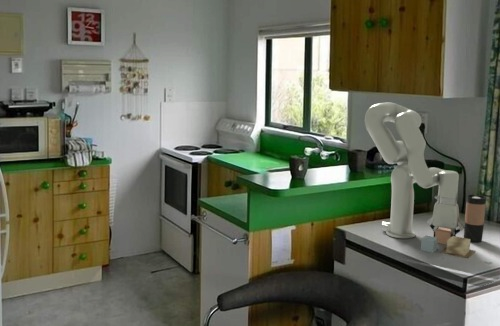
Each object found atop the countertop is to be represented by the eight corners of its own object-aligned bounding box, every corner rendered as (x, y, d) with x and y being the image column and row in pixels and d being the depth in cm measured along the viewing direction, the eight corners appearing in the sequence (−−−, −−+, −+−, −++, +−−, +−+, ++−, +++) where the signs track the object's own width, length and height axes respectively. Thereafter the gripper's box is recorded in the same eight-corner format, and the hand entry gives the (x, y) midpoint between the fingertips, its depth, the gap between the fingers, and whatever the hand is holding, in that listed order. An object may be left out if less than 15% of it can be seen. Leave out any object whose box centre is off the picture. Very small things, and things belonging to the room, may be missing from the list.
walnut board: (439, 254, 229) (439, 252, 229) (448, 247, 238) (448, 245, 237) (467, 260, 223) (467, 258, 222) (475, 253, 231) (475, 250, 231)
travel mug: (472, 246, 240) (476, 199, 236) (459, 240, 247) (462, 195, 243) (486, 243, 243) (490, 197, 239) (472, 238, 250) (476, 193, 246)
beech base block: (446, 252, 229) (447, 240, 228) (451, 247, 235) (452, 235, 234) (464, 255, 225) (465, 243, 224) (469, 251, 231) (470, 239, 230)
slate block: (420, 252, 231) (421, 238, 230) (424, 249, 235) (425, 235, 234) (432, 255, 229) (433, 240, 227) (437, 251, 233) (438, 237, 231)
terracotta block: (434, 244, 242) (435, 230, 240) (439, 240, 246) (440, 227, 245) (448, 247, 238) (449, 233, 237) (453, 243, 243) (454, 230, 242)
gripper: (423, 198, 241) (420, 240, 244) (465, 205, 231) (462, 248, 234) (429, 195, 247) (427, 235, 250) (471, 201, 237) (467, 243, 240)
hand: (444, 241), depth 242 cm, fingers closed on terracotta block, 6 cm apart
